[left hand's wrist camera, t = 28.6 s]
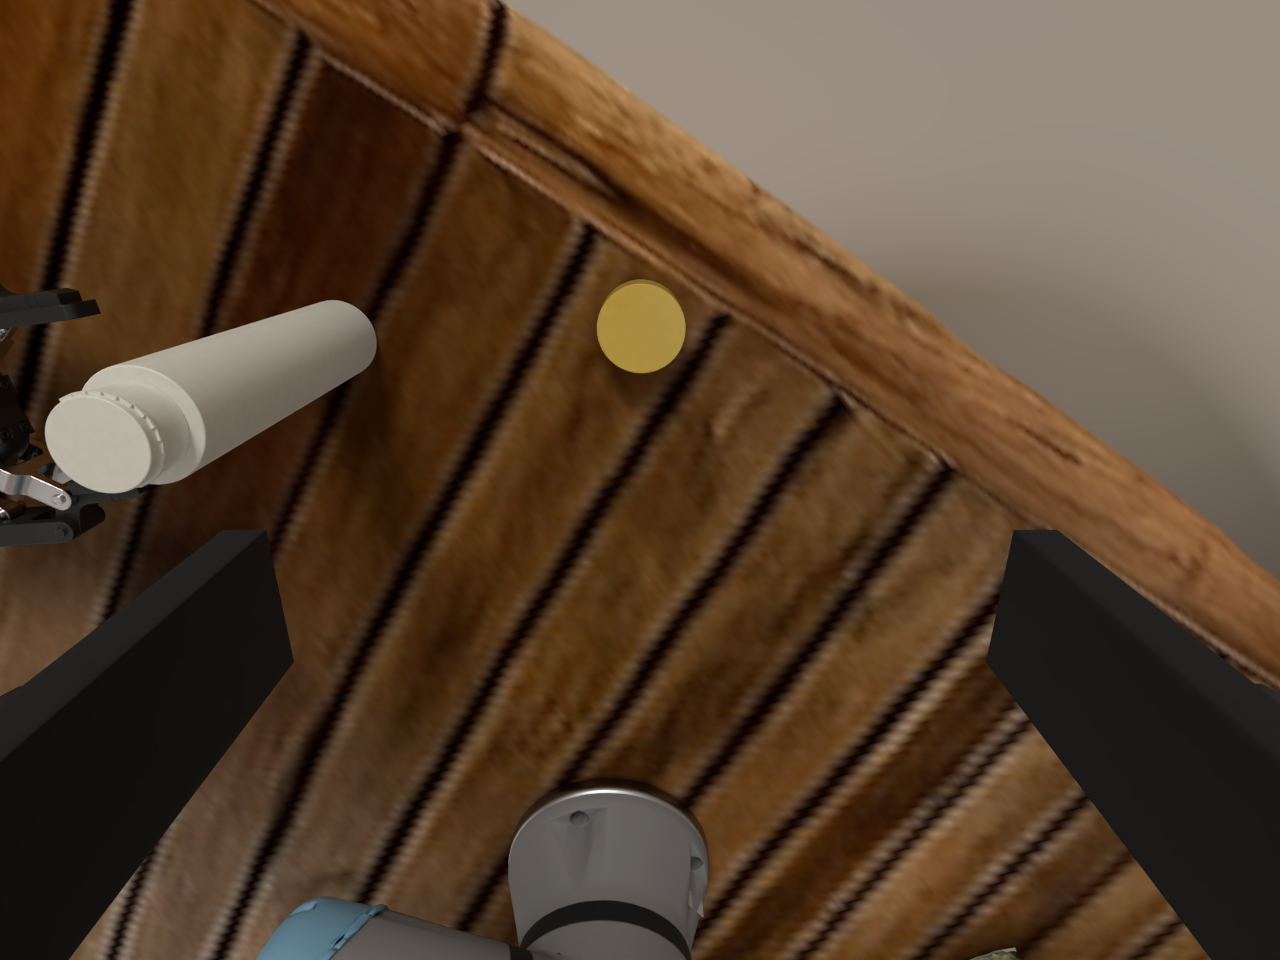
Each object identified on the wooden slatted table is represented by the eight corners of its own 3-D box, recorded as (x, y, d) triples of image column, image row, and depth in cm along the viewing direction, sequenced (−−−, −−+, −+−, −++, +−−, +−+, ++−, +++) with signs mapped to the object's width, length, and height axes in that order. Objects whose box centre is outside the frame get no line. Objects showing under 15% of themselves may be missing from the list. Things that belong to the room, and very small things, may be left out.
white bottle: (391, 357, 42) (195, 478, 23) (327, 387, 42) (88, 527, 24) (350, 287, 40) (108, 356, 22) (285, 319, 41) (-4, 412, 22)
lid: (590, 289, 40) (587, 295, 38) (673, 270, 40) (675, 274, 38) (610, 372, 42) (608, 381, 40) (690, 354, 42) (693, 363, 39)
